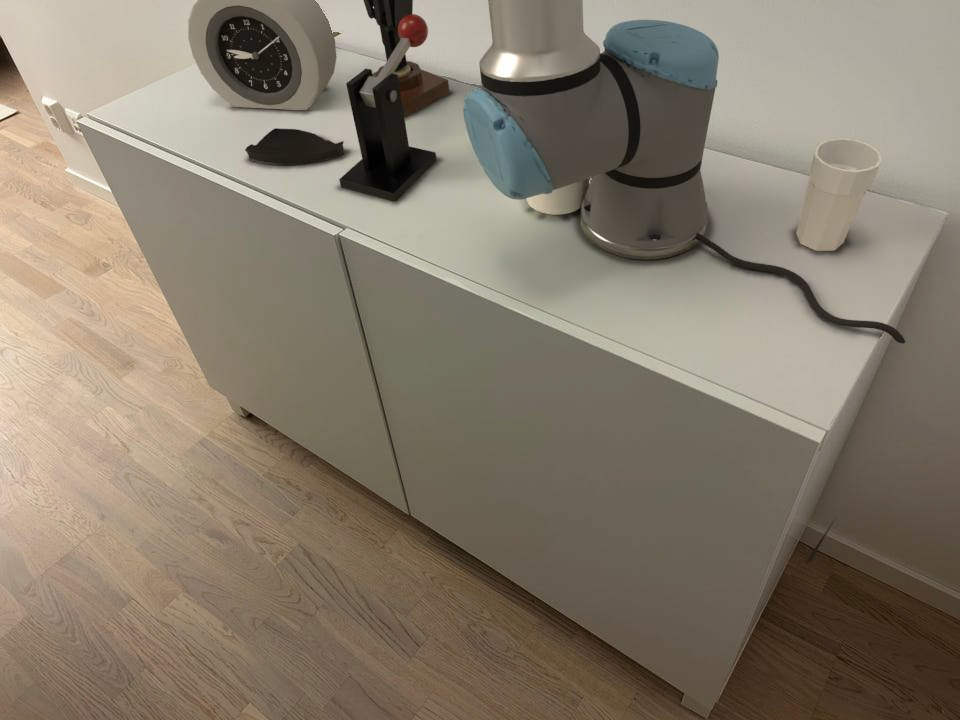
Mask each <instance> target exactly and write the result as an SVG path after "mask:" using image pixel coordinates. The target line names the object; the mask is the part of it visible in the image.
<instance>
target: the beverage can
mask: <svg viewBox="0 0 960 720" xmlns="http://www.w3.org/2000/svg"><path fill="white" fill-rule="evenodd" d="M589 185H590V178H588V179H585V180H582V181H579V182H576V183H573V184H570V185H567V186H564V187H561V188H559V189H556V190H553V191H552V193H550V194H540V195H536V196H533V197H529V198H526V199H525V201H526V203H527V204H528V205H529V206H530V207H531V208H532V209H533V210H534V211H537V212H539V213H543V214H547V215H554V216H556V215H557V216H558V215H566V214H571V213H573V212H576V211H578V210H580V209H581V205H582V202H583V199H584V196H585V194H586V192H587V189H588V187H589Z"/></svg>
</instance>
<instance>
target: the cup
mask: <svg viewBox="0 0 960 720" xmlns="http://www.w3.org/2000/svg"><path fill="white" fill-rule="evenodd" d="M882 160H883V159H882V153H881V152H880V151H879V150H877V149H876V148H875V147H874V146H872V145H870V144H869V143H866V142H864V141H860V140H856V139H852V138H841V137H840V138H834V139H828V140H825V141H823V142H820V143H818V144H817V146H816V147H815V148H814V153H813V156H812V159H811V165H810V169H809V173H808V182H807V183H808V184H807V187H806V191H805V196H804V200H803V204H802V207H801V208H802V209H801V212H800V217H799V222H798V225H797V230H796V232H795V233H796V236H797V239H798V241H799V243H800V244H799V245H802V246H805V247H807V248H809V249H811V250H813V251H815V252H829V251H830V252H832V251H836V250H837V249H838V248H839V247H841V245H843V244H844V243H845V241H846V238H847V236H848V233H849V231H850V230H851V229H850V228H851V226H852V223H853V222H854V219H855V217H856V216H857V213H858V211H859V208H860V207H861V204H862V202H863V199H864V198H865V195H866V193H867V191H869V189H870V188H871V186H872V183H873V182H874V178H875V176H876V174H877V172H878V170H879V167H880V165H881V162H882Z"/></svg>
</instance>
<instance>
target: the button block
mask: <svg viewBox="0 0 960 720" xmlns="http://www.w3.org/2000/svg"><path fill="white" fill-rule="evenodd" d="M406 62H407V65H409V66H410V67H411V73H410V74H408V75H406V76H403V77H398V81H399V87H400V93H401V99H402V106H403V112H404V118H407V117H409V116H411V115H412V114H414V113H416V112H417V111H419V110H421V109H423V108H425V107H426V106H428V105H430V104H432V103H433V102H436V101H437V100H439V99H441V98H443V97H445V96H446V95H448V94H450V93H451V92H450V84H449V79H448V78H445V77H442V76H440V75H437V74H434V73H431V72H429V71H427V70H424V69H422V68H421V67H420V64H419V63H416V62H413V61H411V60H410V61H409V60H406ZM383 67H384V65H381V66H380V67H379V68H378V69H377V70H376V71H375V72H372V74H373V77H377V76H378V75H379V73H380V72H381V70H382V68H383Z"/></svg>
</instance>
